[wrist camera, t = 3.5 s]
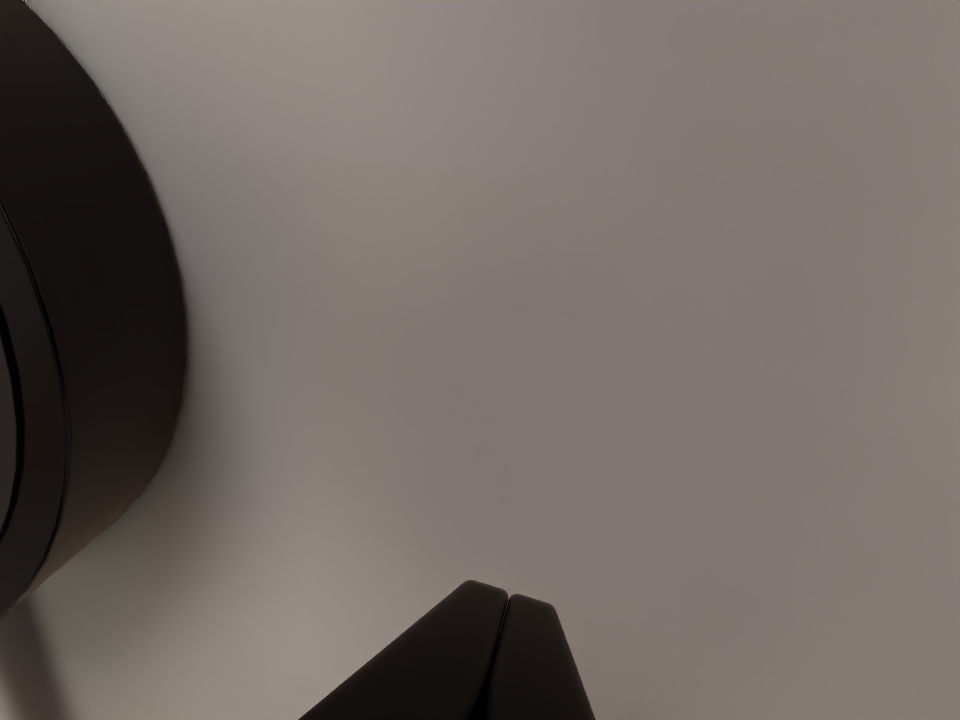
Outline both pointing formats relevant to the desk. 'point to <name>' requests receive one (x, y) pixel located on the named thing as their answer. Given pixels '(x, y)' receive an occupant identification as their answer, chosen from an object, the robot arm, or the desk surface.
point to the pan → (75, 311)
